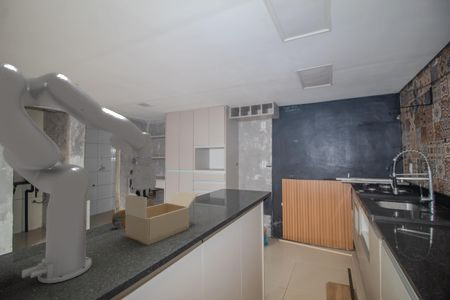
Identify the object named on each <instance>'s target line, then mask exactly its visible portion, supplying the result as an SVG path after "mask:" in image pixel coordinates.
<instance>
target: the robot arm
mask: <svg viewBox="0 0 450 300" xmlns="http://www.w3.org/2000/svg"><path fill="white" fill-rule="evenodd" d="M51 106H56V107H58V108H59V109H60V110H62V111H64V112H65V113H66V114H68V115H69V116H71V117H72V118H73V119H75V121H78V122H79V123H80V124H82V125H84V126H86V127H89V128H92V129H96V130H102V131H105V132H108V133H110V134H111V135H110V136H109V139H108V142H109V144H110V146H111V147H112V148H113V149H115V150H118V151H128V150H131V159H129V161H128V162H129V164H131V165H130V167H129V173H128V174H129V177H128V188H129V194H131V195H135V196H140V197H146V198H147V196H148V193H149V192H150V191H151V190H153V189H154V187H156V186H157V177H156V169H155V165H154V164H153V163H152V162H153V161H152V160H153V159H152V157H153V156H152V134H151V133H149V132H145V131H144V132H143V131H142V130H141V129H140V128H139V127H138V126H137V125H136V124H135V123H134V122H132V121H131V120H130V119H128V118H127V117H125V116H123V115H121V114H119V113H117V112H115V111H113V110H111V109H109V108H107V107H104V106H103V105H101V104H100V103H99V102H98V101H97V100H95V99H94V98H93V97H92V96H91V95H89V93H87V92H86V91H85V90H84V89H83V88H81V87H80V86H79V85H77V84H76V83H75V82H74V81H73V80H72V79H71V78H69V77H67V76H66V75H64V74H62V73H59V72H49V73H46V74H42V75H40V76H38V77H27V76H25V74H24V73H23V72H22V71H21V70H20V69H19V68H17V67H16V66H14V65H13V64H10V63H7V62H3V61H0V145H1V146H2V148H3V149H2V157H3V159H4V161H5V163H6V164H7V165H8V166H9V167H10V168H11V169H12V170H13V171H15V172H16V173H17V174H19V175H20V177H22V178H23V179H25V180H26V181H28V183H30V184H31V185H32V186H33V187H35V188H36V189H37V190H39V191H40V192H42V193H44V194H45V193H46V194H49V199H48V203H47V207H46V218H45V219H46V227H45V229H46V230H45V258H42V259H41V262H40V263H38V264H37V265H35V266H33V267H29V268H26V269H23V270H21V278H22V279H24V278H27V277H30V278H31V279H32V278H36V277H37V281H38V282H40V283H43V284H53V283H59V282H64V281H69V280H70V279H73V278H75V277H77V276H80V275H82V274H83V273H85V272H87V271H88V270H89V269H90V268H91V266H92V265H93V261H92V258H90V257H89V256H87V223H88V222H87V217H88V216H87V215H88V213H87V211H88V210H87V208H88V196H89V192H90V187H91V177H90V174H89V172H88V171H87V170H86V169H85V168H84V167H82V166H80V165H76V164H71V163H70V164H67V163H66V164H65V163H61V162H60V160H61V157H62V151H61V149H60V147H59V146H58V144H57V143H56V142H55V141H54V140H53V139H52V138H51V137H50V136H48V134H47V133H46V132H45V131H44V130H42V128H41V127H40V126H39V125H38V124H37V123H36V122H35V121H34V120H33V118H32V117H31V116H30V115H29V114H28V112H27V111H26V109H25V107H51Z"/></svg>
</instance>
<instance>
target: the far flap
mask: <svg viewBox="0 0 450 300" xmlns="http://www.w3.org/2000/svg"><path fill="white" fill-rule="evenodd" d="M196 197H198V194H197V193H190V192H185V191H176V193H175V194H174V195H173V196H172V197H171V199H170V200H169V201H168V203H171V204H176V205H181V206H186V207H189V208H190V206H191V205H192V204H193V202H194V200H196Z"/></svg>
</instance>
